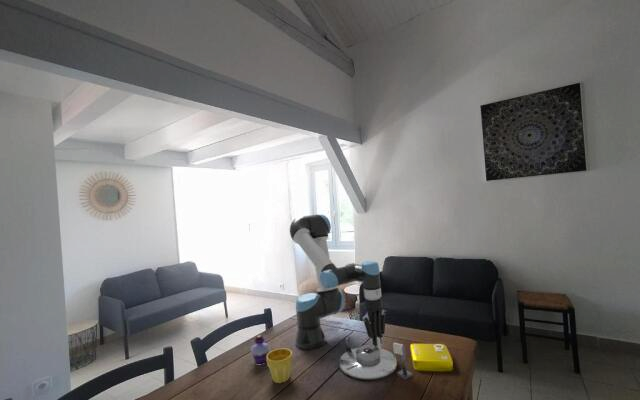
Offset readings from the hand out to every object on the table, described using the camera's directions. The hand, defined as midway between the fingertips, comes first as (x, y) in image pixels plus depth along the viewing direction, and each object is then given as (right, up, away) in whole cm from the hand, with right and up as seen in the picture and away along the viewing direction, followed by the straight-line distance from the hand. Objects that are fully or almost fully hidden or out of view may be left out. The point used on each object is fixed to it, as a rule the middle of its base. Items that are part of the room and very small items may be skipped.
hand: (378, 352), depth 127 cm
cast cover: (-5, -2, -3) cm, 6 cm away
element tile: (+21, -2, -5) cm, 22 cm away
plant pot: (-41, -7, -8) cm, 42 cm away
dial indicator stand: (+8, -2, -14) cm, 16 cm away
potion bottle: (-52, -8, +6) cm, 53 cm away
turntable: (-6, -3, -2) cm, 7 cm away
